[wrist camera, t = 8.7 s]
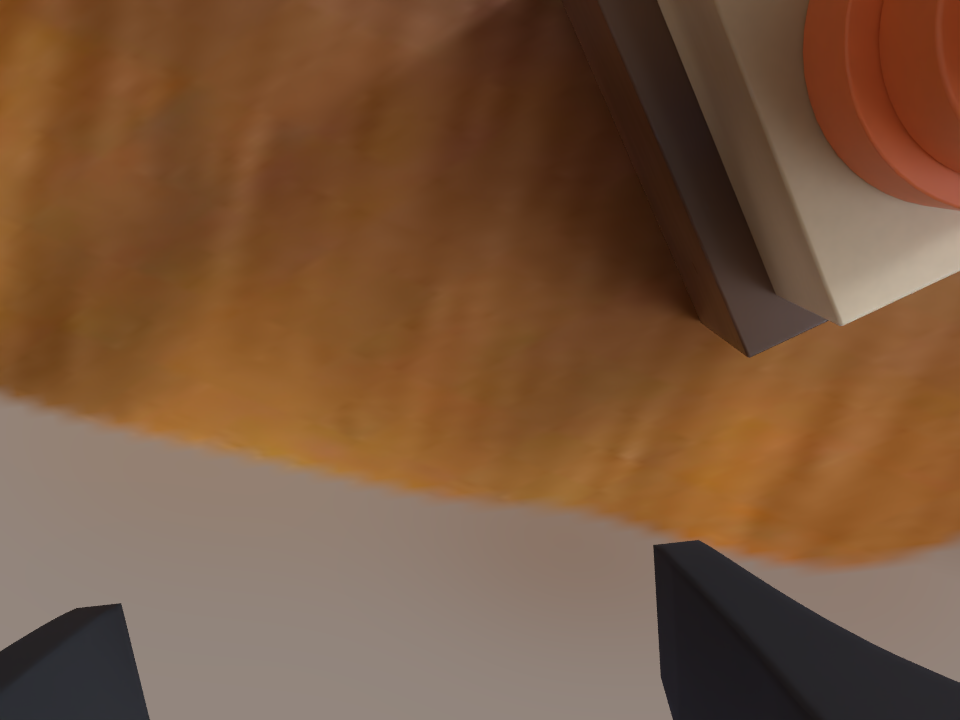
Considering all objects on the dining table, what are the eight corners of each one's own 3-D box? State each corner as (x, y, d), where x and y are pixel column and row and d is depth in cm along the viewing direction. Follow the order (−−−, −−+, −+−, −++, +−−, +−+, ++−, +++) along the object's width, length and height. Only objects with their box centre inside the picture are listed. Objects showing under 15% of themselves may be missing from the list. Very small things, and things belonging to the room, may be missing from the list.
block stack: (1043, 160, 20) (1313, 169, 14) (700, 323, 21) (807, 402, 14) (927, -225, 18) (1184, -424, 12) (549, -26, 19) (597, -111, 12)
